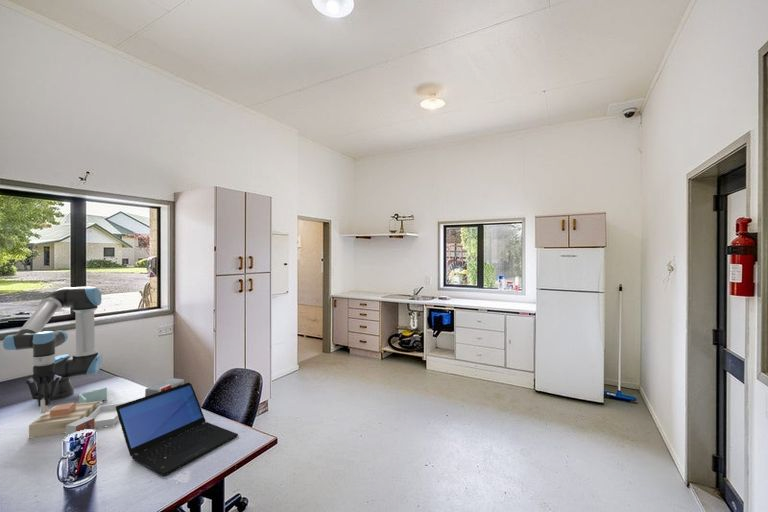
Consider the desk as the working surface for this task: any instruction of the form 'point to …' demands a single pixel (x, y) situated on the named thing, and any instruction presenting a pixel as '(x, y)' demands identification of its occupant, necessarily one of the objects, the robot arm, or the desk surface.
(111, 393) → the desk surface
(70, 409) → the tile
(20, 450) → the desk surface
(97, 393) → the l-shaped corner panel
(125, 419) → the laptop
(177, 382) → the hard drive box
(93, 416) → the box
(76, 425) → the small box
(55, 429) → the plate
